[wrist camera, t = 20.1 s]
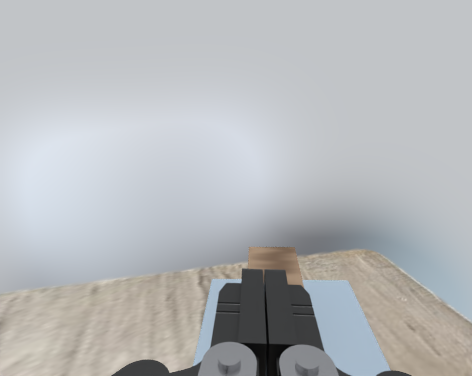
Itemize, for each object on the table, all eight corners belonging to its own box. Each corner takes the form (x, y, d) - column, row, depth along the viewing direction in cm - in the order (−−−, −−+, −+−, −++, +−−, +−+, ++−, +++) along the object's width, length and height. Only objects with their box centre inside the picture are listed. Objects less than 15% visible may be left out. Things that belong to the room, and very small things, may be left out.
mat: (158, 533, 18) (157, 526, 18) (212, 283, 41) (212, 279, 41) (470, 550, 17) (473, 542, 17) (347, 285, 40) (348, 280, 40)
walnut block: (245, 317, 26) (249, 245, 38) (246, 369, 28) (249, 285, 39) (311, 318, 26) (294, 246, 38) (308, 371, 27) (293, 285, 39)
